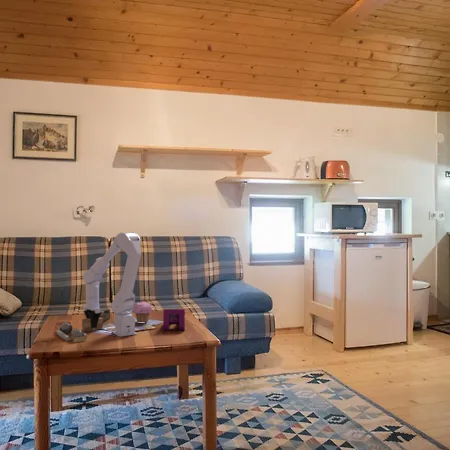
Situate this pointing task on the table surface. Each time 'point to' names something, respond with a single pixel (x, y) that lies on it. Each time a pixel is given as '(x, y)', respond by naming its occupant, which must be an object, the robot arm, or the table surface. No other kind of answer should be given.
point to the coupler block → (87, 324)
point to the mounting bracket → (174, 318)
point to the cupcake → (142, 311)
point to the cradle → (66, 335)
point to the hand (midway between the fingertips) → (92, 326)
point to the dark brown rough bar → (106, 315)
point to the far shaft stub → (65, 328)
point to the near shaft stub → (77, 336)
